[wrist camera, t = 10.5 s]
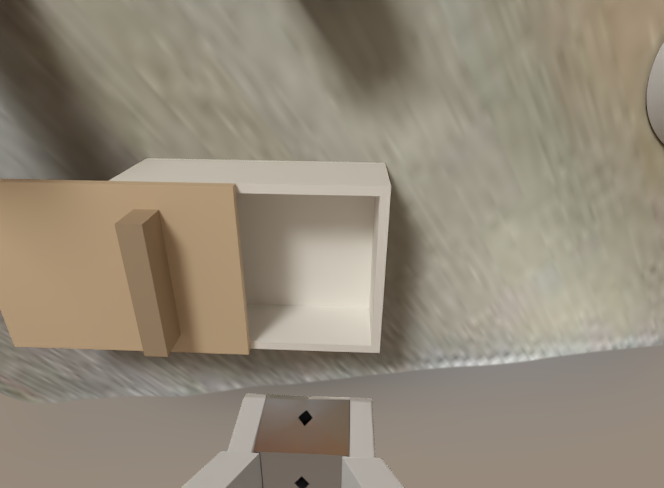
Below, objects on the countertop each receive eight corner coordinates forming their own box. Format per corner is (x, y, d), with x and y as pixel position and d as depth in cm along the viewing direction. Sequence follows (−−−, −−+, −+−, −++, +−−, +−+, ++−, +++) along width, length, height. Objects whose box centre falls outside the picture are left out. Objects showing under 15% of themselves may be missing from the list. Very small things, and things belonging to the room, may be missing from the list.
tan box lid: (235, 183, 33) (221, 200, 30) (250, 349, 40) (241, 377, 37) (-41, 177, 34) (-86, 193, 31) (20, 341, 41) (-10, 368, 37)
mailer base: (384, 162, 39) (391, 186, 33) (375, 309, 46) (379, 353, 40) (146, 158, 40) (108, 180, 34) (172, 303, 47) (145, 344, 40)
